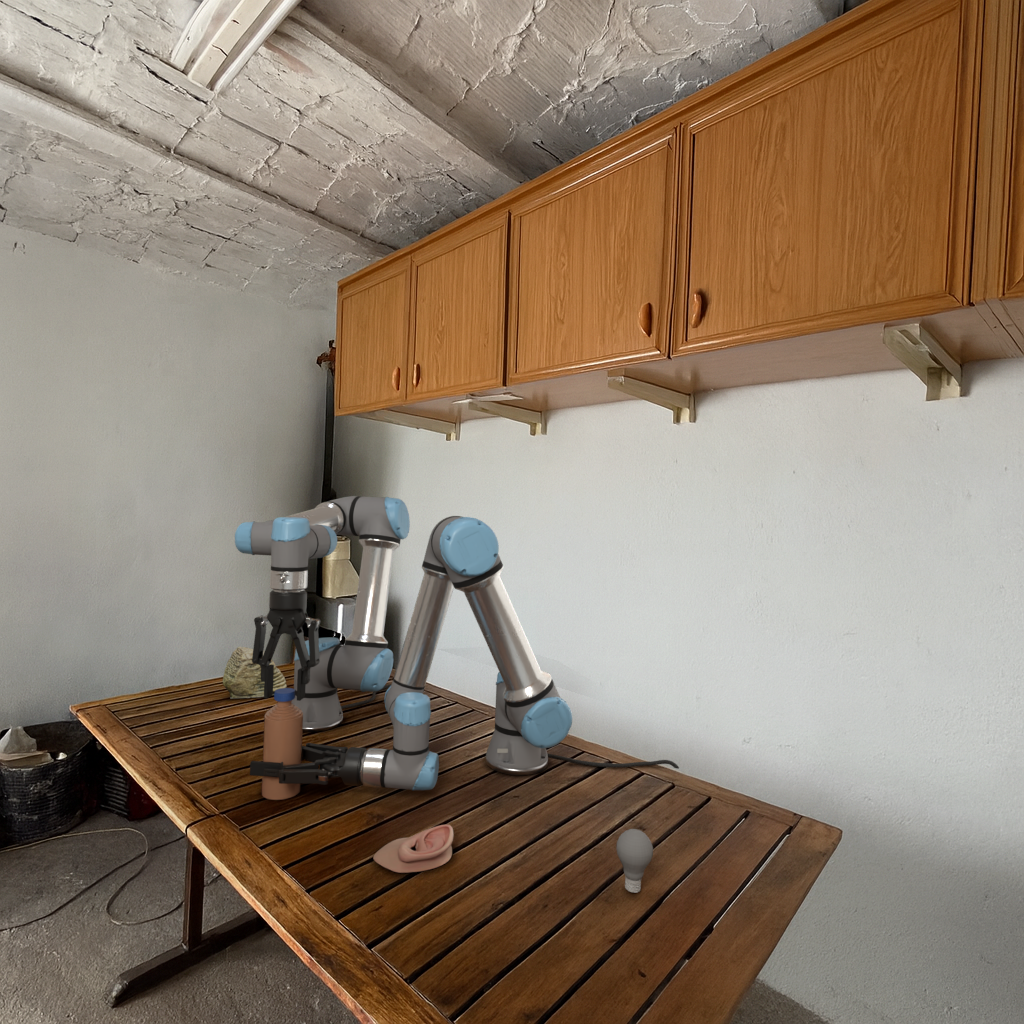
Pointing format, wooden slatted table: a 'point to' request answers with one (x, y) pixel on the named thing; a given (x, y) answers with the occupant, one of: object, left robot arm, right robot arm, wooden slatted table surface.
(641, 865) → the light bulb
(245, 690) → the fossil
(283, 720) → the bottle
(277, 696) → the cap
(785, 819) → the wooden slatted table surface
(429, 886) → the wooden slatted table surface
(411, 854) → the anatomical model
